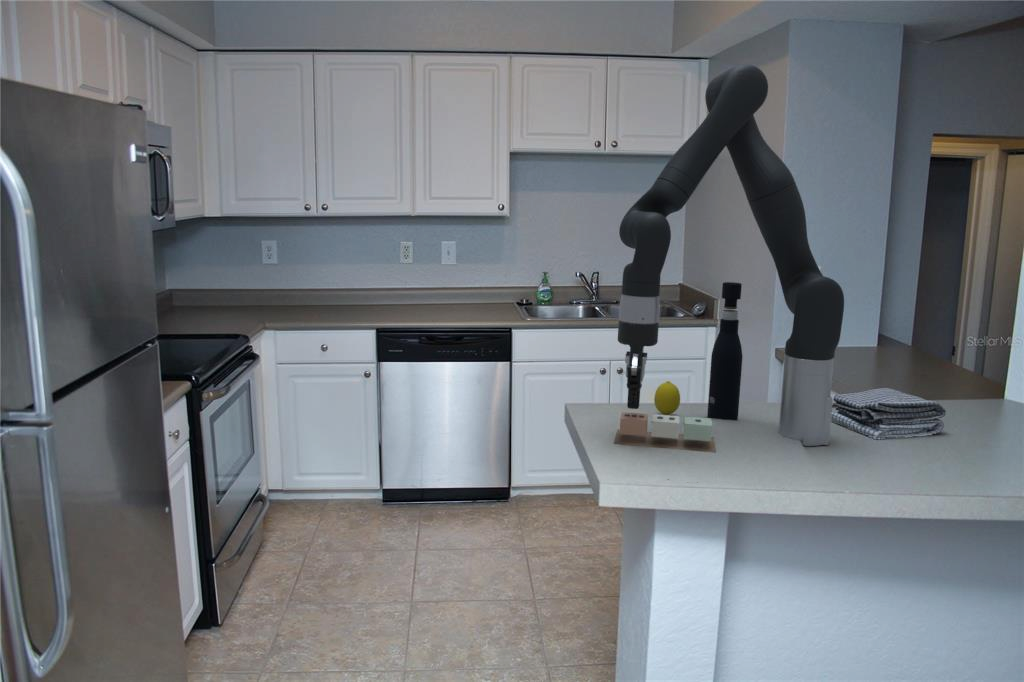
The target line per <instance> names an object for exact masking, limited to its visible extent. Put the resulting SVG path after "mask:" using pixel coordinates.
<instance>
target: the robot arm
mask: <svg viewBox="0 0 1024 682" xmlns="http://www.w3.org/2000/svg"><path fill="white" fill-rule="evenodd" d="M768 93H769V82H768V79H767V76H766V75H765V73H764V72H763V70H761V69H760V68H759V67H757V66H756V65H753V64H747V63H746V64H740V65H737V66H736V65H735V66H733V67H732V68H729V69H728V70H726V71H724V72H722V73H721V74H718V75H717V76H714V77H713V79H712V80H711V81H709V83H708V85H707V87H706V89H705V98H704V99H705V106H706V108H707V111H708V114H707V116H706V117H705V118H704V119H703V121H702V123H701V124H699V126H698V127H697V129H695V131H694V132H693V133H692V135H690V137H688V139H687V140H686V141H685V142H684V143H683V144H682V145H681V146H680V147H679V148H678V150H676V151H675V153H674V154H673V156H672V157H671V158H670V159H669V161H667V163H666V164H665V166H664V167H663V169H662V170H661V172H660V174H658V177H657V178H656V179H655V181H654V183H653V185H652V186H651V187H650V188H649V189H648V190H647V191H646V192H645V193H644V194H642V196H641V197H640V198H639V199H638V200H637V201H636V202H634V204H633V205H632V206H631V207H630V208H629V210H627V212H626V213H625V214H624V216H623V217H622V220H621V222H620V224H619V230H618V231H619V232H618V234H619V238H620V240H621V242H622V243H623V244H624V246H626V247H628V248H630V249H633V250H634V254H633V258H632V259H633V260H632V262H630V263H627V264H626V265H625V266H624V268H623V272H622V279H621V280H622V282H621V284H622V285H621V297H620V302H619V307H618V308H619V311H618V325H617V326H618V328H617V342H618V343H620V344H621V345H624V346H629V348H630V349H629V351H626V353H625V358H624V362H625V364H626V365H625V377H626V378H627V379H626V380H627V381H626V382H627V383H626V388H627V408H628V409H630V410H631V409H632V410H637V409H639V407H640V399H641V389H642V386H643V381H644V377H645V375H646V373H645V372H646V365H647V360H648V352H644V347H653V346H656V345H657V344H658V342H659V341H658V338H659V325H660V324H659V323H660V312H661V311H660V310H661V308H660V307H661V306H660V305H661V304H660V303H661V302H660V293H661V292H660V291H661V275H662V271H663V268H664V265H665V262H666V258H667V256H668V253H669V249H670V246H671V245H670V244H671V239H672V231H671V226H670V223H669V221H668V219H667V217H668V216H669V215H671V214H674V213H677V212H679V211H681V210H682V209H683V207H684V206H686V204H687V202H688V200H690V198H691V197H692V195H693V194H694V192H695V190H696V189H697V188H698V186H699V185H700V183H701V182H702V180H703V178H704V177H705V175H706V174H707V173H708V171H709V170H710V168H711V167H712V165H713V164H714V162H715V161H716V160H717V158H718V157H719V156H720V154H721V153H722V152H723V150H724V149H725V148H727V151H728V153H729V155H730V157H731V160H732V163H733V165H734V169H735V170H736V173H737V176H738V179H739V182H740V183H741V186H742V188H743V191H744V194H745V196H746V200H747V202H748V205H749V207H750V210H751V213H752V215H753V217H754V220H755V222H756V225H757V227H758V228H759V231H760V234H761V236H762V238H763V241H764V242H765V244H766V247H767V248H768V251H769V253H770V255H771V257H772V259H773V261H774V262H773V263H774V265H775V268H776V272H777V275H778V279H779V282H780V285H781V290H782V294H783V299H784V301H785V304H786V306H787V308H788V309H789V311H790V312H791V313H792V315H793V321H792V330H791V334H790V337H789V338H788V339H787V340H786V341H785V347H784V355H783V356H784V358H783V369H782V380H781V392H780V394H781V395H780V403H779V417H778V426H777V433H778V434H779V435H781V436H782V437H784V438H786V439H787V438H788V439H791V440H797V441H800V443H801V445H802V446H807V447H815V446H829V443H830V442H829V439H830V432H831V431H830V430H831V422H832V421H831V412H833V410H832V409H833V408H832V405H833V402H834V400H833V399H834V398H833V397H832V396H831V395H832V393H831V392H832V384H833V382H832V381H833V374H834V373H833V372H834V363H835V356H836V355H835V354H836V353H835V352H836V350H837V347H838V346H839V344H840V339H841V334H842V325H843V320H844V319H843V318H844V311H845V310H844V309H845V295H844V291H843V289H842V287H841V285H840V284H839V283H838V282H837V281H836V280H834V279H833V278H830V277H829V276H824V275H823V273H822V271H821V269H820V268H819V266H818V263H817V261H816V259H815V257H814V255H813V253H812V250H811V247H810V244H809V239H808V230H807V228H808V227H807V220H806V219H807V217H806V211H805V206H804V202H803V199H802V196H801V194H800V190H799V187H798V186H797V183H796V181H795V178H794V176H793V174H792V172H791V170H790V169H789V168H788V166H787V165H786V163H784V161H783V160H782V159H781V158H780V157H779V155H778V154H777V153H776V152H775V151H773V149H772V148H771V146H770V145H768V143H767V142H766V140H765V139H764V138H763V136H762V134H761V131H760V130H759V127H758V123H757V121H756V119H755V116H754V114H756V112H758V110H759V109H760V108H761V107H762V106H763V105H764V104H765V102H766V99H767V97H768Z"/></svg>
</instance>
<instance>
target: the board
mask: <svg viewBox="0 0 1024 682" xmlns="http://www.w3.org/2000/svg"><path fill="white" fill-rule="evenodd" d="M651 435H652V431H647V433H646V436H639V435H627V434H620V428H619V429H618V428H617V429H616V433H615V437H614V439H613V444H612V445H618V446H620V445H621V446H631V447H632V446H633V447H645V448H656V449H669V450H680V451H681V450H682V451H691V452H704V453H717V447H716V442H715V441H716V440H715V436H711V441H702V440H689V439H684V433H683V434H681V433H679V436H678V439H677V438H664V437H652V436H651Z"/></svg>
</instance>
